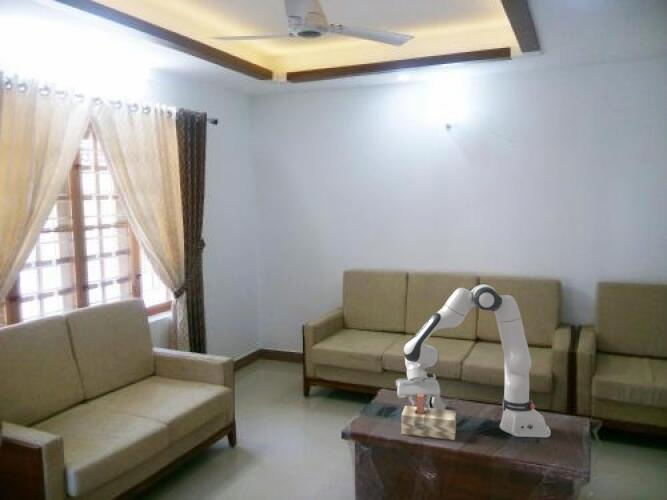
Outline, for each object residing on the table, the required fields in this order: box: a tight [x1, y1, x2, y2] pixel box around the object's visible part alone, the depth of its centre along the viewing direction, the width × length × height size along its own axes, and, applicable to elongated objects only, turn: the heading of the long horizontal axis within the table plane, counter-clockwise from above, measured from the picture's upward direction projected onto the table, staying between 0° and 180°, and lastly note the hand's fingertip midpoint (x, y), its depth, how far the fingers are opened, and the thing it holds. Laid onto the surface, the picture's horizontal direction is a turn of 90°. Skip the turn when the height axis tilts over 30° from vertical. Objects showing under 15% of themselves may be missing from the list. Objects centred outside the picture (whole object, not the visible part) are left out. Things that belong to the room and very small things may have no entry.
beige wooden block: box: [400, 405, 457, 441], centre depth 259 cm, size 24×12×9 cm, turn 75°
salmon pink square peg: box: [416, 394, 425, 414], centre depth 260 cm, size 3×3×14 cm
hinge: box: [426, 394, 447, 410], centre depth 284 cm, size 17×5×10 cm, turn 161°
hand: (420, 405), depth 259 cm, fingers open, 5 cm apart
